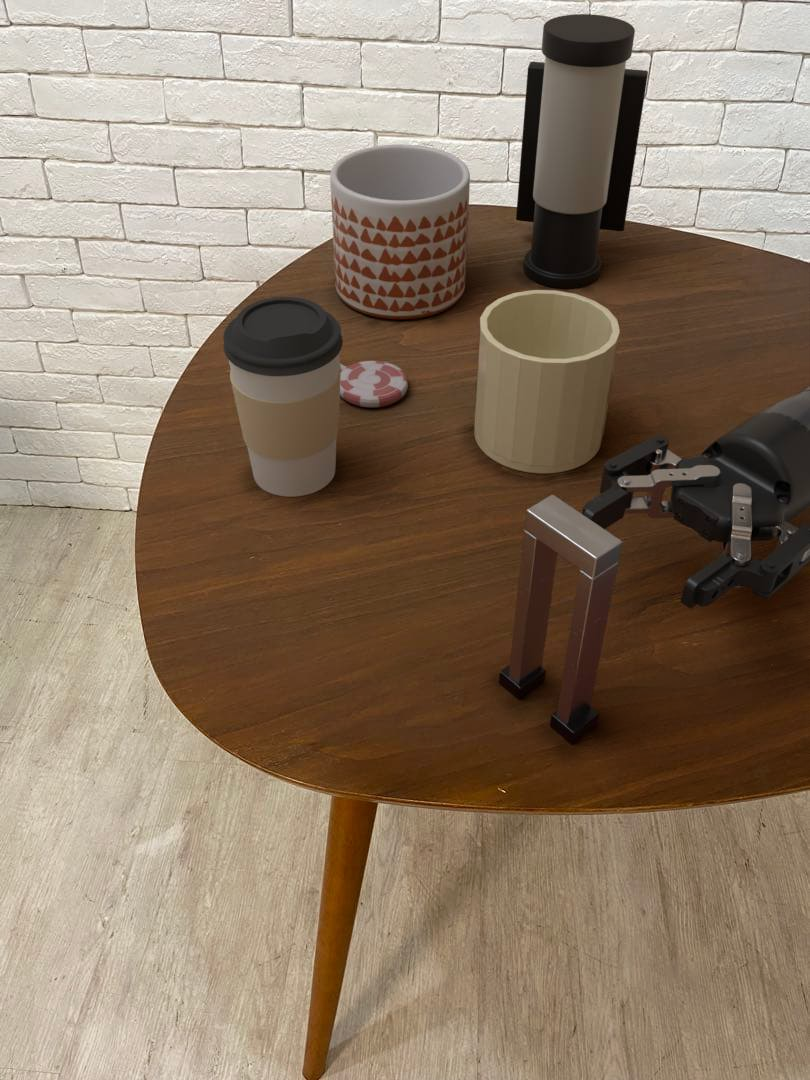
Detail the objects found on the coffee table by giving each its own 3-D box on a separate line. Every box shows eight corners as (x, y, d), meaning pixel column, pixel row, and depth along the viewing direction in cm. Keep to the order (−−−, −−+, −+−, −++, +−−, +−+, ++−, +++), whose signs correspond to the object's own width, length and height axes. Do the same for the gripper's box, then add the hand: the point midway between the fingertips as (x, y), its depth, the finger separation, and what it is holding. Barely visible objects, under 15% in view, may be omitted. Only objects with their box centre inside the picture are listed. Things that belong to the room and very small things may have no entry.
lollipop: (308, 320, 104) (422, 377, 97) (308, 329, 105) (422, 386, 97) (258, 347, 100) (373, 408, 93) (260, 356, 101) (374, 418, 94)
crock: (613, 411, 95) (631, 303, 87) (586, 485, 87) (603, 373, 80) (493, 387, 98) (501, 280, 90) (457, 457, 90) (462, 346, 82)
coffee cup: (231, 449, 91) (210, 293, 80) (333, 430, 93) (324, 276, 82) (252, 515, 84) (231, 355, 74) (360, 493, 86) (355, 335, 76)
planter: (334, 323, 106) (328, 202, 97) (336, 258, 116) (331, 144, 107) (469, 320, 106) (475, 200, 98) (460, 256, 116) (464, 142, 108)
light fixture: (500, 282, 112) (518, 36, 95) (515, 236, 120) (534, 2, 103) (614, 295, 110) (652, 46, 93) (621, 247, 118) (658, 10, 101)
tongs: (498, 682, 72) (515, 504, 61) (524, 664, 73) (545, 486, 62) (571, 745, 68) (604, 566, 57) (597, 724, 69) (634, 546, 58)
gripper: (713, 372, 77) (559, 461, 69) (889, 465, 69) (738, 578, 61) (693, 453, 82) (548, 545, 74) (855, 549, 74) (712, 662, 66)
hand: (634, 559), depth 68 cm, fingers open, 8 cm apart
